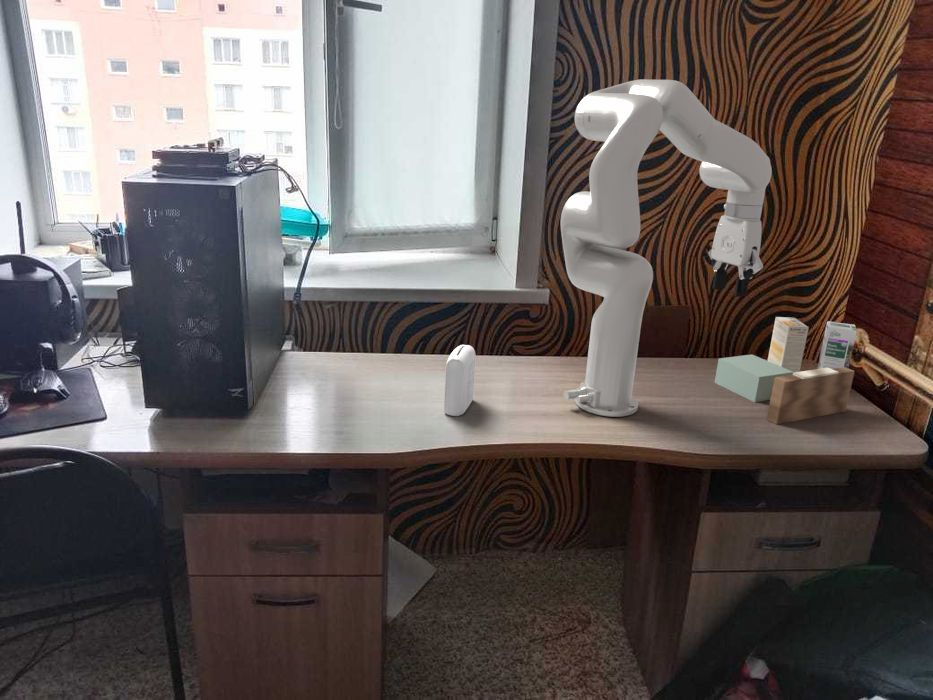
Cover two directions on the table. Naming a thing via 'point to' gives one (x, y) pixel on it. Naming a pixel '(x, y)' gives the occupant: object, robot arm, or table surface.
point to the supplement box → (788, 343)
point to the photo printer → (459, 380)
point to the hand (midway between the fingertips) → (729, 291)
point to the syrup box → (837, 345)
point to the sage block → (749, 376)
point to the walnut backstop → (809, 394)
